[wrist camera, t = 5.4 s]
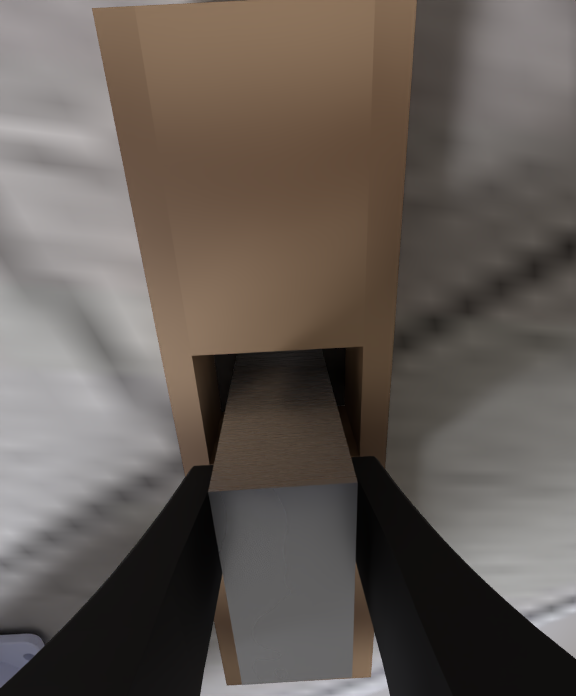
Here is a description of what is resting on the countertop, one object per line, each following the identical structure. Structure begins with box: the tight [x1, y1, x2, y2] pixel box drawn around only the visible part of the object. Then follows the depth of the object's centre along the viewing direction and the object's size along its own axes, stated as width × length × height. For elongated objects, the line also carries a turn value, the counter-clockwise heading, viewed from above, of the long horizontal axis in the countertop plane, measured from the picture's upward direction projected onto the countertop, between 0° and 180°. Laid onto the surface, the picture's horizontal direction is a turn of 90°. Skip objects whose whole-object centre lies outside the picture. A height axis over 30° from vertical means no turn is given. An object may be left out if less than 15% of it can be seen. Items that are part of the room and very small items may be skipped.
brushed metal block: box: [208, 349, 358, 685], centre depth 10 cm, size 6×2×6 cm, turn 3°
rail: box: [92, 0, 417, 685], centre depth 12 cm, size 20×5×2 cm, turn 3°
